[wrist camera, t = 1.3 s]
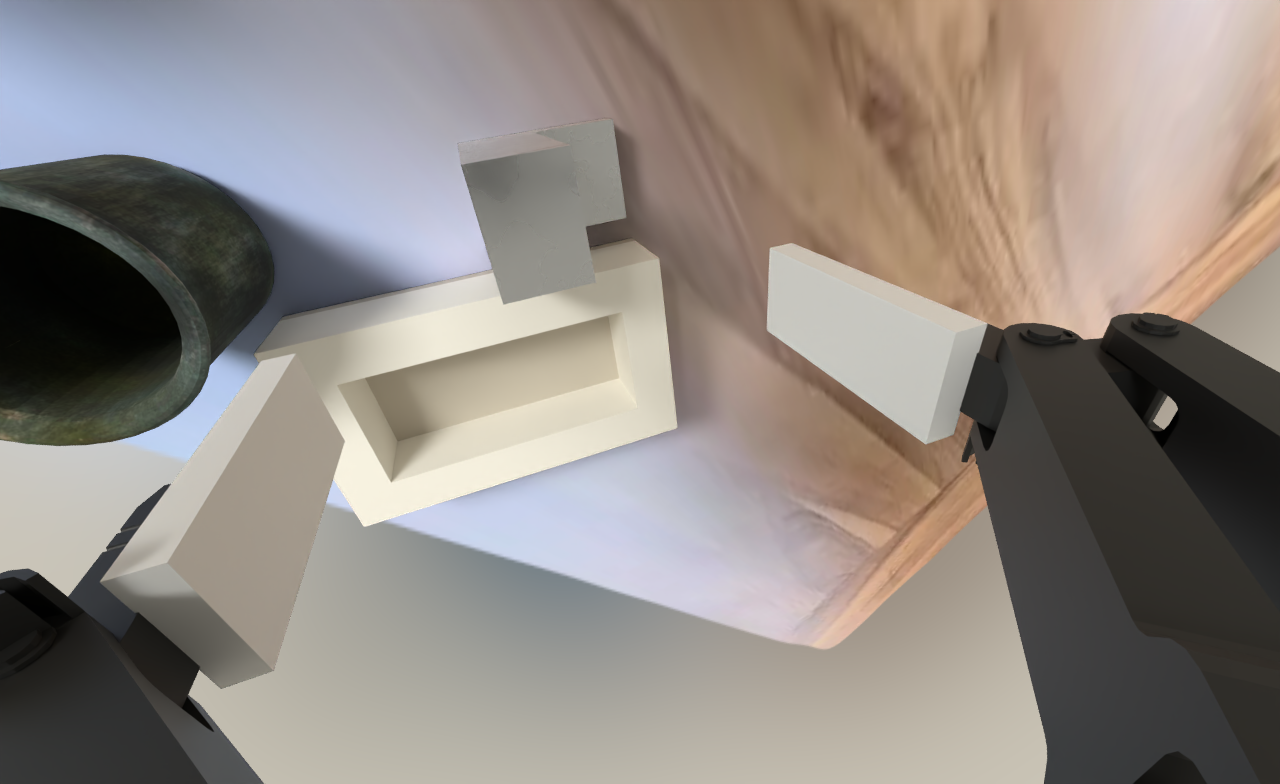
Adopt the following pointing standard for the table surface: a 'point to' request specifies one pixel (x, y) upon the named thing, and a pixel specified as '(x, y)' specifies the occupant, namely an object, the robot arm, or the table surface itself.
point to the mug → (117, 295)
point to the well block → (484, 379)
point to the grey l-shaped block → (543, 203)
